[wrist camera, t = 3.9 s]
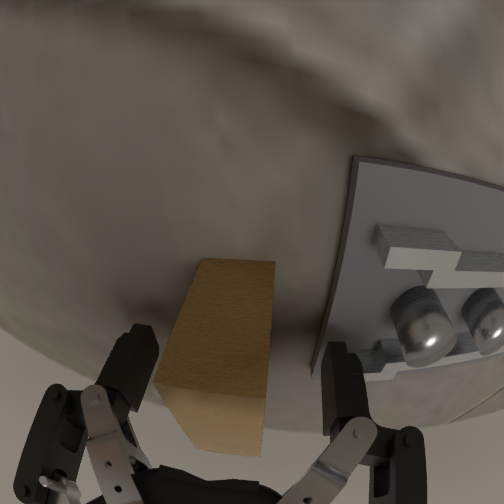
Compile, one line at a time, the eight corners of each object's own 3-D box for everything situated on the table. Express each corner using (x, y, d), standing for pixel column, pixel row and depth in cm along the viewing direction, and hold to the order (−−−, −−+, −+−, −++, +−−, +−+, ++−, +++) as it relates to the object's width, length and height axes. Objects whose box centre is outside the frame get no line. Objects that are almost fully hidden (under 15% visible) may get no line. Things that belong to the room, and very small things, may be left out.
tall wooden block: (217, 355, 15) (196, 449, 10) (202, 257, 11) (152, 382, 6) (268, 359, 15) (260, 457, 10) (275, 260, 11) (265, 398, 6)
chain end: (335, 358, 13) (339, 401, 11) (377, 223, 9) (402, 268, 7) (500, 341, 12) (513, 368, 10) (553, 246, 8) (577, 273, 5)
